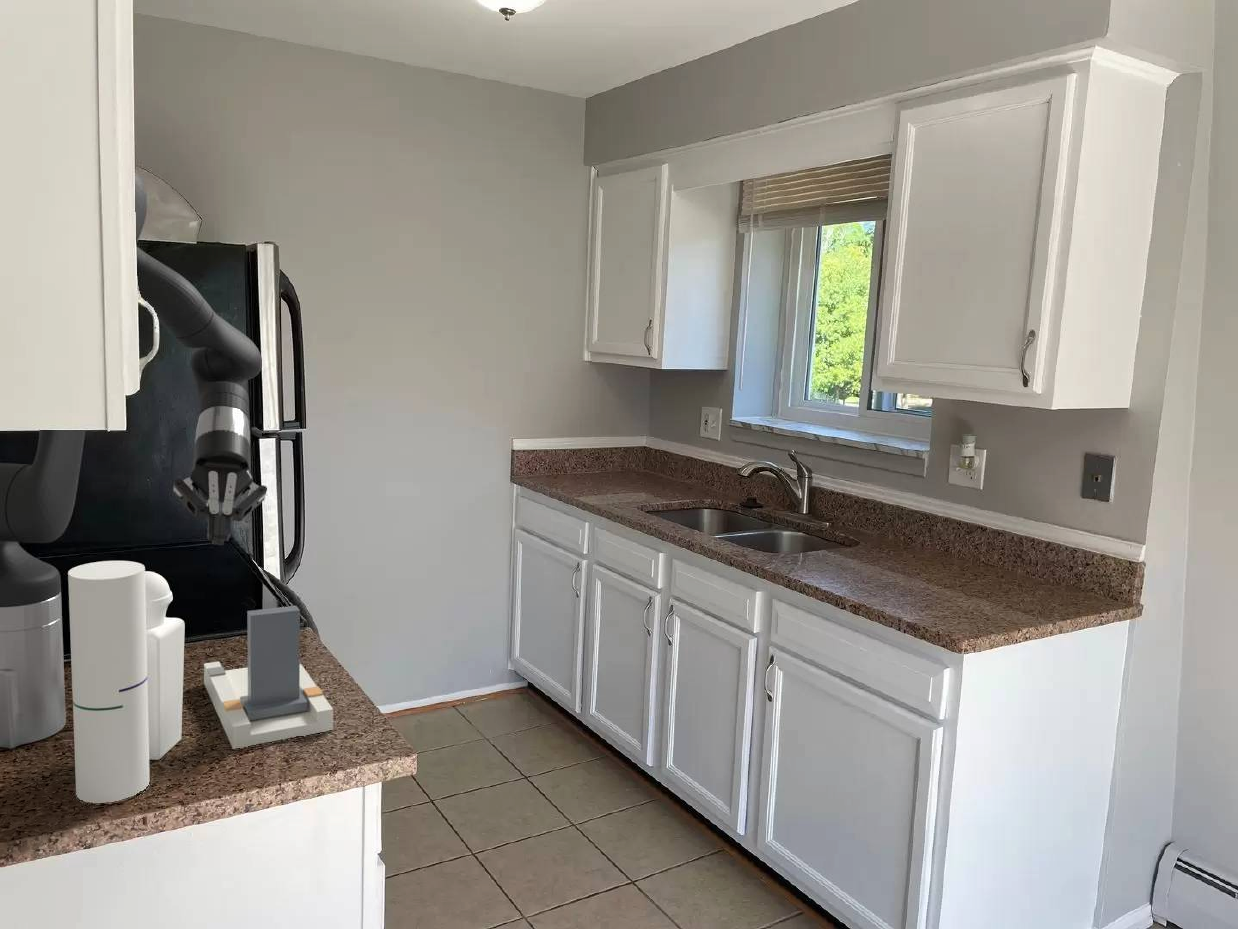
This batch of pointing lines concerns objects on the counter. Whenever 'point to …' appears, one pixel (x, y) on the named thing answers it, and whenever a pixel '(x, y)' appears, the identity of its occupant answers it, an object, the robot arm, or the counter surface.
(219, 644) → the counter surface
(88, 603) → the cylindrical container
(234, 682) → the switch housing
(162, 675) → the soap dispenser
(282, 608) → the switch tab
